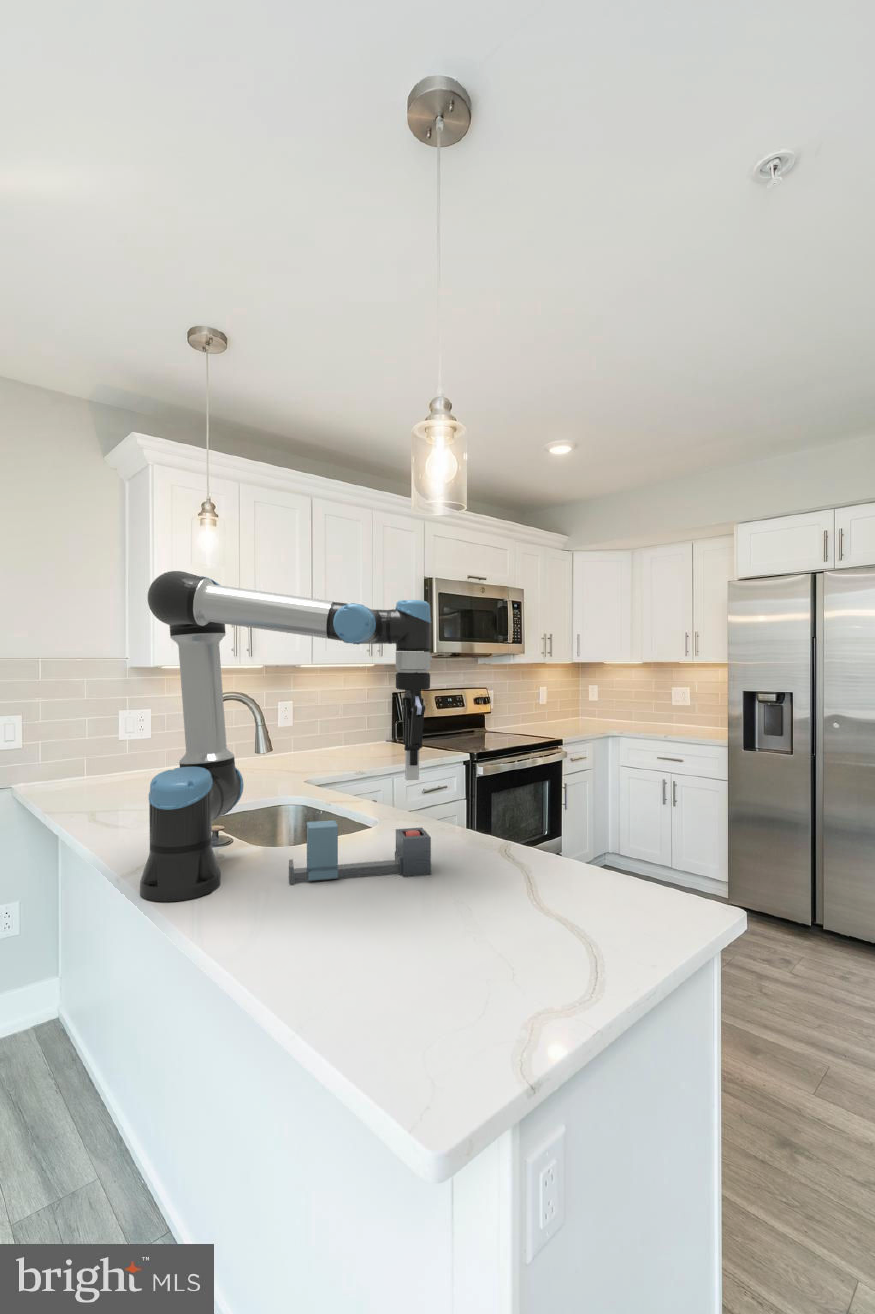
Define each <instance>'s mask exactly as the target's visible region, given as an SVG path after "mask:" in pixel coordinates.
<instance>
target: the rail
mask: <svg viewBox="0 0 875 1314" xmlns="http://www.w3.org/2000/svg"><path fill="white" fill-rule="evenodd" d="M397 874H398V875H399V876H402V858H401V856H400V855H399V853H398V852H397V851H396V850H395V851H394V859H391V860H390V859H389V860H379V861H378V860H377V861H366V862H355V863H354V862H353V863H343V864H338V878H332V879H321V880H310V881H308V868H307V866H306V867H294V860H293V859H288V880H289V882H288V883H289V886H293V885H295V884H296V883H297V884H298V883H307V882H319V881H320V882H321V881H330V880H341V879H351V878H353V879H354V878H363V877H364V878H365V877H374V876H387V875H397Z"/></svg>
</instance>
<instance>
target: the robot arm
mask: <svg viewBox="0 0 875 1314" xmlns="http://www.w3.org/2000/svg"><path fill="white" fill-rule="evenodd" d="M147 604H148V607H149V610H150V611H151V613H152V614H153V616H154V617H155V618H156V619H157V620H159V621H160V622H162V623H163V624H165V625H169V626H168V627H169V635H170V639H171V640H172V641H173V642H175V643H176V645H178V647H177V648H178V658H179V672H180V684H181V685H180V688H181V689H180V690H181V698H182V713H183V714H182V715H183V728H184V744H185V754H184V755H183V756H182V757H181V759H179V761H178V762H179V764H178V765H179V767H177V768H176V767H175V768H174V769H167V770H164V771H161V772H160V773H158V774H157V775H155V776H154V777H153V778H152V779H151V781H150V784H149V793H148V803H149V804H148V807H149V810H148V811H149V812H148V814H149V815H148V816H149V818H148V819H149V855H148V857H147V860H146V863H145V866H144V868H143V869H144V870H143V871H142V875H141V879H140V881H139V894H140V896H141V897H142V898H143V899H145V900H149V901H155V902H165V903H168V902H180V901H187V900H191V899H196V898H201V897H202V896H206V895H208V894H211V893H212V892H215V891H216V890H217V889H219V887H220V886H221V884H222V883H221V882H222V881H221V880H222V879H221V878H222V877H221V876H222V874H221V869H220V866H219V863H218V860H217V858H216V855H215V852H214V850H213V846H212V837H213V836H212V833H213V832H212V830H213V829H212V828H213V827H212V826H213V825H212V822H214V821H215V820H217V819H219V818H220V817H222V816H224V815H226V814H227V813H229V812H230V811H231V810H233V808H234V807H235V806H236V805H237V804H238V803H239V801H240V799H241V798H242V795H243V792H244V778H243V774H241V772H240V770H239V769H238V768H237V767H236V762H235V760H236V759H235V755H234V753H233V752H231V751H230V750H229V749H228V747H227V737H226V736H227V735H226V734H227V733H226V732H227V731H226V723H225V722H226V720H225V707H224V705H225V704H224V695H223V694H224V693H223V680H222V677H223V676H222V664H221V651H220V642H221V641H222V640H223V639H224V638H225V636H226V634H227V633H226V625H230V626H237V627H238V626H239V627H244V628H252V629H258V630H259V629H260V630H264V631H265V630H266V631H273V632H279V633H286V634H293V635H301V636H308V637H314V638H315V637H316V638H321V639H327V640H334V641H340V642H343V643H345V644H351V645H352V644H353V645H361V644H363V645H366V644H367V645H378V644H379V645H383V644H385V645H386V644H387V645H393V644H395V670H398V671H397V672H396V674H395V689H397V690H399V691H404V697H402V699H401V702H400V705H401V706H400V707H401V713H402V715H401V716H402V718H401V719H402V739H403V740H402V743H403V745H404V747H403V748H404V752H405V761H404V762H405V770H404V771H405V775H404V777H405V781H419V780H420V749H422V748H423V736H424V734H423V733H424V722H425V720H424V719H425V712H426V709H427V708H426V705H425V703H424V702H425V701H424V698H422V691H428V690H429V689H431V673H430V672H428V671H429V670H430V669H431V661H433V656H431V638H432V637H431V635H432V633H431V632H432V617H431V605H430V604H429V602H428V601H425V600H422V599H421V600H420V599H405V600H403V599H402V600H401V599H400V600H398V601H397V602H396V607H395V609H394V608H392V609H371V608H368V607H367V606H365V605H364V604H359V603H354V602H353V603H346V602H337V601H336V602H335V601H332V600H331V601H330V600H325V599H319V598H310V597H304V596H296V595H289V594H284V593H283V594H282V593H276V592H269V591H262V590H255V589H247V588H241V587H233V586H228V585H222V584H220V583H218V582H216V581H215V580H214V579H211V578H210V577H207V576H201V575H196V574H192V573H189V572H186V571H181V570H172V571H167V572H164V573H162V574H160V575H159V576H157V577H156V578H155V579H154V580H153V581H152V583H151V584H150V586H149V588H148V591H147Z"/></svg>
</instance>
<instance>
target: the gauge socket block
mask: <svg viewBox="0 0 875 1314" xmlns="http://www.w3.org/2000/svg"><path fill="white" fill-rule="evenodd" d="M410 830H417V831H419V832H420V836H406V831H410ZM431 839H432V837H431V836H430V835H429V833H427V831H426V830H425V829H424V828H423V827H411V828H396V829H395V851H397V852H398V853H399V855H400V856H401V858H402V875H401V876H402V877H403V878H409V877H420V876H430V875H431V874H432V872H431V870H432V869H431V868H432V861H431V860H432V852H431V851H432V848H431V847H432V842H431V841H432V840H431Z"/></svg>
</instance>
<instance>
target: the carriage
mask: <svg viewBox="0 0 875 1314" xmlns="http://www.w3.org/2000/svg"><path fill="white" fill-rule="evenodd" d="M338 827H339V826H338V824H337V822H336V820H335V819H334V820H320V821H319V820H317V821H307V822H306V867H307V868H308V881H310V880H321V879H332V878H338V865H339V862H338V861H339V856H338V855H339V854H338V853H339V849H338V848H339V843H338V841H339V840H338V839H339V835H338V834H339V830H338V829H339V828H338ZM332 880H333V879H332ZM321 881H322V880H321ZM310 882H311V881H310Z"/></svg>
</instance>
